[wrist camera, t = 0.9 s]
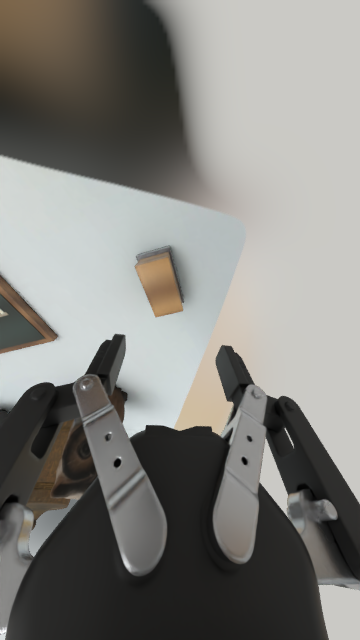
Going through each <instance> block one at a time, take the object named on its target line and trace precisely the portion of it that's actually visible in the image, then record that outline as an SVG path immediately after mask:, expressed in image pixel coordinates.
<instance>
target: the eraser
mask: <svg viewBox="0 0 360 640" xmlns="http://www.w3.org/2000/svg"><path fill="white" fill-rule="evenodd" d="M136 258H137V261H138V263H137V264H136V265H135V269H136V271H137V273H138V276H139V278H140V281H141V283H142V286H143V288H144V290H145V293H146V295H147V298H148V300H149V303H150V305H151V307H152V310H153V312H154V315H155V317H160V316H164V315H168V314H172V313H176V312H180V311H183V306H182V303H184V299H183V295H182V291H181V287H180V283H179V279H178V276H177V272H176V268H175V264H174V260H173V256H172V253H171V249H170V246H166V247H162V248H159V249H155V250H152V251H148V252H145V253H141V254H138V255H137V256H136Z"/></svg>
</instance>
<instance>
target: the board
mask: <svg viewBox="0 0 360 640" xmlns="http://www.w3.org/2000/svg"><path fill="white" fill-rule="evenodd" d="M57 337H58V336H57V335H56V334H55V333H54V332H53V331H52V330H51V329H50V328H49V327H48V326H47V325H46V323H45V322H44V321H43V320H42V319H41V318H40V317H39V316H38V315H37V314H36V313H35V312H34V311H33V310H32V309H31V308H30V307H29V305H28V304H27V303H26V302H25V301H24V300H23V299H22V298H21V297H20V296H19V295H18V294H17V293H16V292H15V291H14V290H13V289H12V288H11V286H10V285H9V284H8V283H7V282H6V281H5V280H4V279H3V278H2V277H1V276H0V354H1V353H5V352H9V351H13V350H18V349H22V348H26V347H30V346H34V345H38V344H43V343H47V342H51V341H54V340H55V339H56V338H57Z"/></svg>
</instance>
